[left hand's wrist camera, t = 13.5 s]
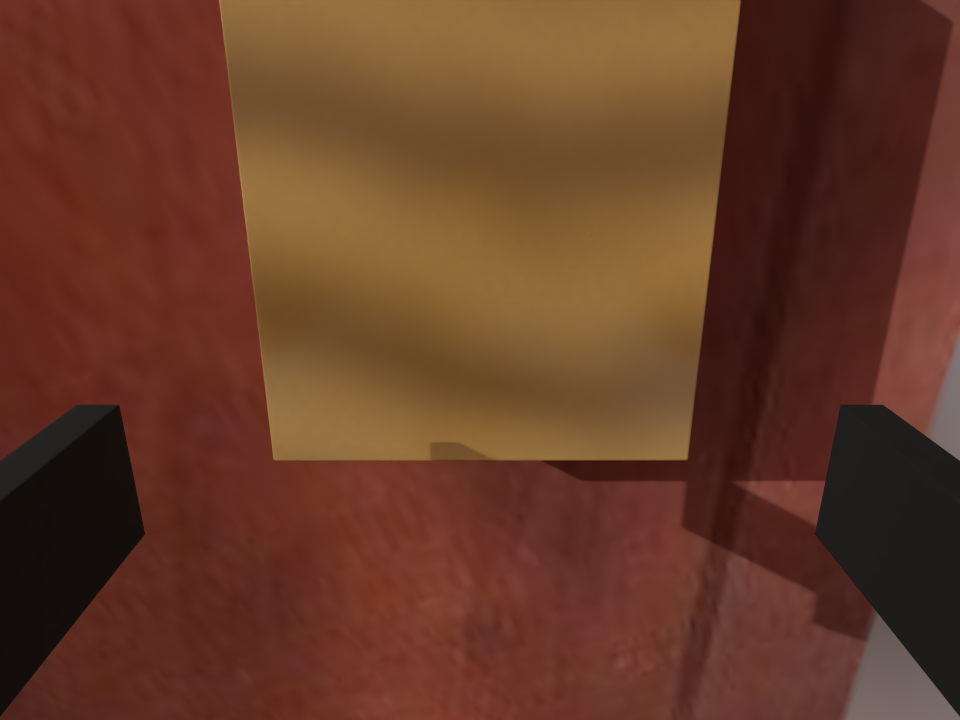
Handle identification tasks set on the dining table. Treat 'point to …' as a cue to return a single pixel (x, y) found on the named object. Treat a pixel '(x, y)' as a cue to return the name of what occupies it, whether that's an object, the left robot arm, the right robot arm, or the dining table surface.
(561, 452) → the tan boxy grained block
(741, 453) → the dining table surface
